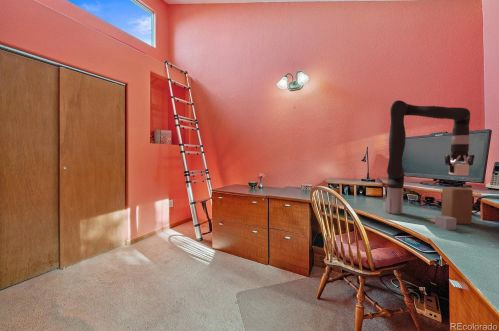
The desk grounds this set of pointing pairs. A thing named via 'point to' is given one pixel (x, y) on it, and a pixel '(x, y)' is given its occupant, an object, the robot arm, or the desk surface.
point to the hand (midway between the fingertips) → (458, 172)
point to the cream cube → (460, 169)
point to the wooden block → (457, 204)
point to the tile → (431, 220)
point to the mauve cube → (445, 222)
